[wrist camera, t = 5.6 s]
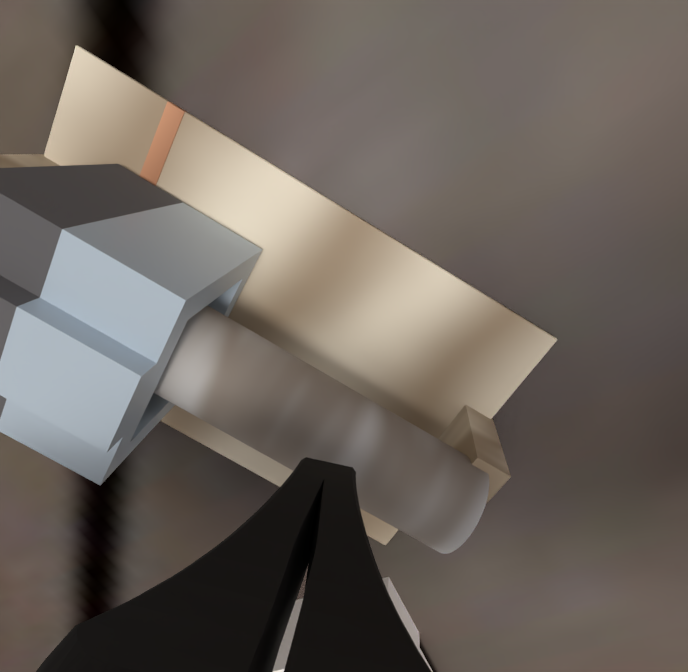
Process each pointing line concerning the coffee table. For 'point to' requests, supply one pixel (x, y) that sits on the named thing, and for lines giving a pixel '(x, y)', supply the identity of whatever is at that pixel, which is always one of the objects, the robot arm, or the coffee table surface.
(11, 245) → the grey notched block
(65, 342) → the sleeve
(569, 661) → the coffee table surface
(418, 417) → the pipe rig
